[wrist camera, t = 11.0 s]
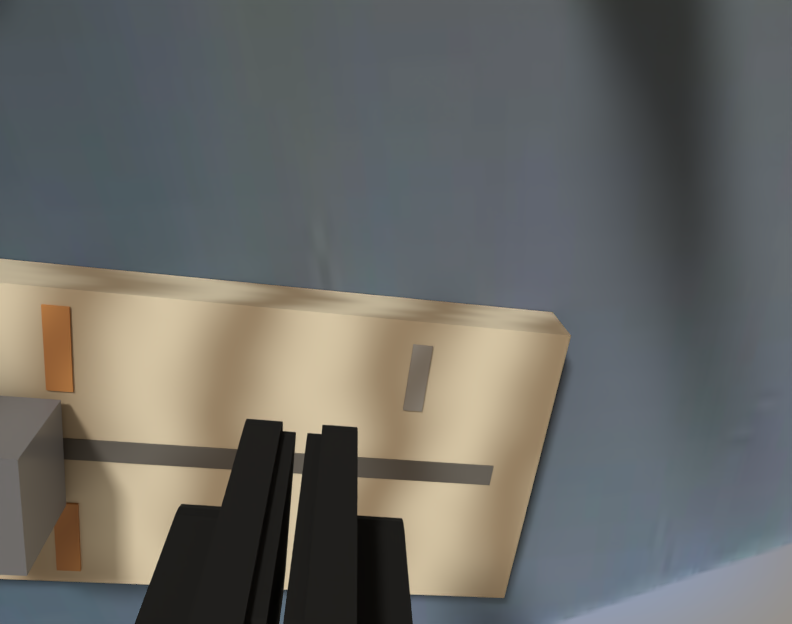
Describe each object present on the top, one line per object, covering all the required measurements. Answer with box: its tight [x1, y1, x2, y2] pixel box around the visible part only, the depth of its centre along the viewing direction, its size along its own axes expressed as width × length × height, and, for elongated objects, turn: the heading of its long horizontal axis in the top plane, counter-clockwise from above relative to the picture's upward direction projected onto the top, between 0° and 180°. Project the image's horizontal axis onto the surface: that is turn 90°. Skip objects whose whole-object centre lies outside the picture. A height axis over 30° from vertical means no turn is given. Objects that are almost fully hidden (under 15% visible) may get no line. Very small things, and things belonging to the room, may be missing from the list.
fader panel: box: [0, 259, 571, 598], centre depth 30 cm, size 26×14×3 cm, turn 82°
